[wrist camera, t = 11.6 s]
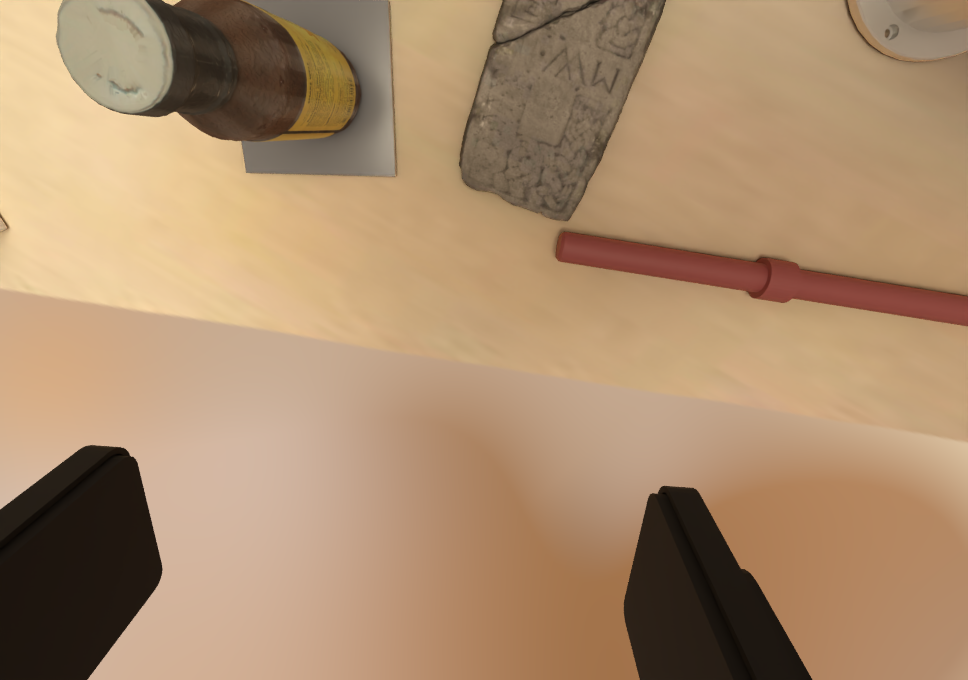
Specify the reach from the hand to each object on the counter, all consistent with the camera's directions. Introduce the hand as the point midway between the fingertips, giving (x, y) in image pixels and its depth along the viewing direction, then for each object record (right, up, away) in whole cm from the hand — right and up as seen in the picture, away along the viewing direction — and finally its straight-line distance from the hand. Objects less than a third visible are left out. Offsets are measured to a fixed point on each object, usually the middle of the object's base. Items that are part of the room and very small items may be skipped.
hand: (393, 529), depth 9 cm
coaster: (-10, +21, +26) cm, 35 cm away
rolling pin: (+30, +8, +32) cm, 44 cm away
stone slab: (+9, +27, +24) cm, 38 cm away
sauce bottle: (-10, +21, +26) cm, 35 cm away
